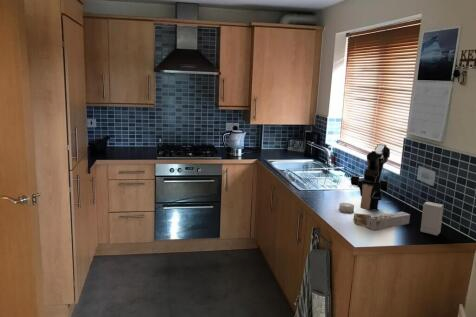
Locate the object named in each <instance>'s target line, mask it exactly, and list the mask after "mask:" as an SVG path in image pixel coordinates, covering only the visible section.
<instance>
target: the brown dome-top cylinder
mask: <svg viewBox="0 0 476 317" xmlns="http://www.w3.org/2000/svg"><path fill="white" fill-rule="evenodd" d="M371 193H372V186H371V185H367V184H363V189H362V196H360V197H361V198H360V206H359V208H360V209H362V210H368V209H369V208H370V200H371V198H370V197H371Z"/></svg>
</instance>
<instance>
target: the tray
mask: <svg viewBox="0 0 476 317" xmlns="http://www.w3.org/2000/svg"><path fill="white" fill-rule="evenodd" d="M353 213H354V212H353ZM367 217H372V215H371V214H365V213H354V214H353V221H354V225H355V224H356V225H361V226H366V224H367Z"/></svg>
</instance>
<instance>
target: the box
mask: <svg viewBox="0 0 476 317" xmlns="http://www.w3.org/2000/svg"><path fill="white" fill-rule="evenodd" d="M410 217H411V214H410V213H407V212H404V211H398V212H392V213H385V214H380V215H374V216H371V217H367V224H366V225H365V226H366V227H365V228H367V229H369V230H372V231H378V230H383V229H388V228H395V227H399V226H404V225H409V224H410Z"/></svg>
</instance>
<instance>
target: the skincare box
mask: <svg viewBox="0 0 476 317" xmlns="http://www.w3.org/2000/svg"><path fill="white" fill-rule="evenodd" d="M421 213H422V214H421V222H420V232H422V233H426V234H429V235H433V236H439V234H440V233H441V229H442V223H443V222H442V221H443V213H444V204H441V203H438V202H437V203H435V202H430V201H426V202H424V203H423V204H422V212H421Z"/></svg>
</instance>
